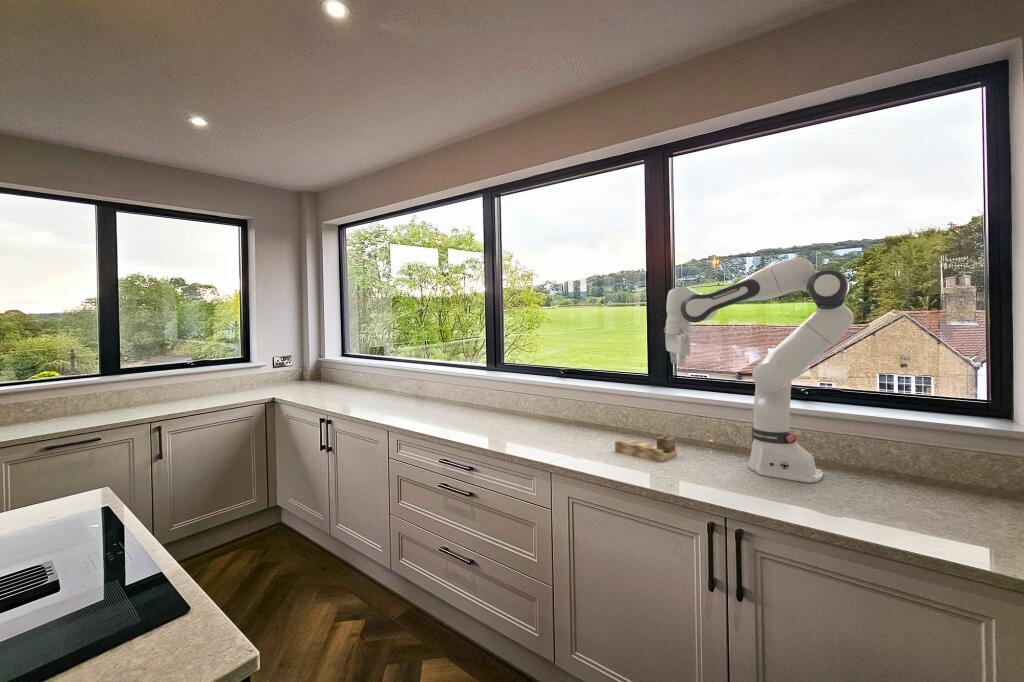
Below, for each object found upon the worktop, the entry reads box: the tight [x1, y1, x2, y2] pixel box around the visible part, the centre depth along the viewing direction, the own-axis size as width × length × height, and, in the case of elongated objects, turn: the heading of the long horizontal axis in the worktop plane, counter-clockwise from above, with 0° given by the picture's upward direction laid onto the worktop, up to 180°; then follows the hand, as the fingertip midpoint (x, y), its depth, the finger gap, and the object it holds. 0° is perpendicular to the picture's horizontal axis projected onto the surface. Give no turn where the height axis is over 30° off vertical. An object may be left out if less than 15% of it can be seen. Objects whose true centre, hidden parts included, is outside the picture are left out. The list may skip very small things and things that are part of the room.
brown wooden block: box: [656, 435, 676, 453], centre depth 182 cm, size 5×5×6 cm
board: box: [614, 440, 678, 463], centre depth 187 cm, size 20×12×4 cm, turn 45°
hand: (677, 365), depth 184 cm, fingers open, 8 cm apart
